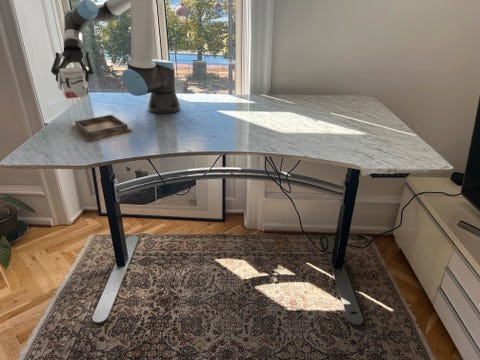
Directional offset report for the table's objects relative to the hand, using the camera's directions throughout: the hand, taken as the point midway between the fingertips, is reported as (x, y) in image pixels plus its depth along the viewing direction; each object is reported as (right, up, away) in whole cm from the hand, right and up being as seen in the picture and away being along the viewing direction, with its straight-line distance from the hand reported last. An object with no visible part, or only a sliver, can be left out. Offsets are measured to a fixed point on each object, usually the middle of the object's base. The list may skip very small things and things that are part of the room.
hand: (72, 87), depth 145 cm
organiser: (+14, -19, -4) cm, 24 cm away
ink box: (-1, -3, +5) cm, 6 cm away
